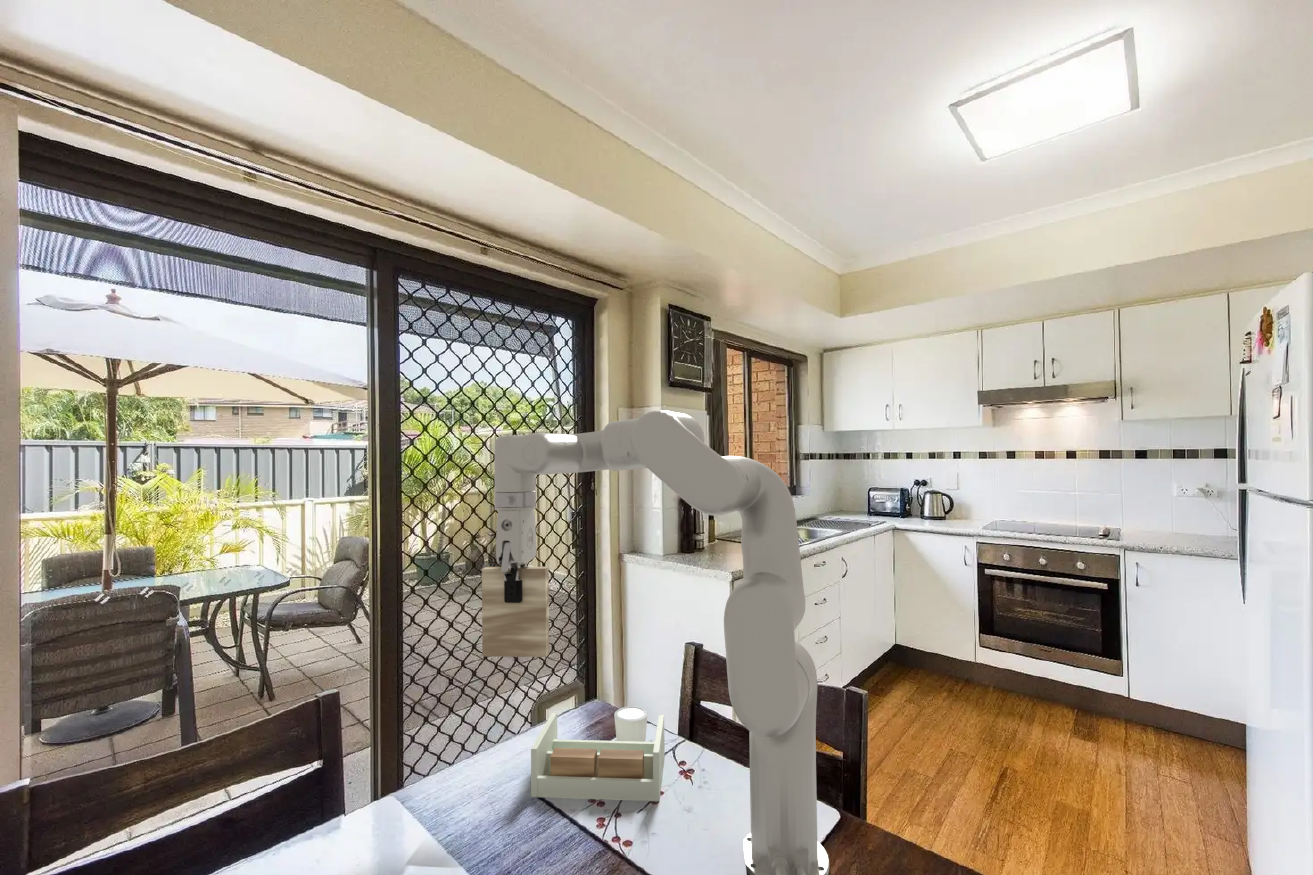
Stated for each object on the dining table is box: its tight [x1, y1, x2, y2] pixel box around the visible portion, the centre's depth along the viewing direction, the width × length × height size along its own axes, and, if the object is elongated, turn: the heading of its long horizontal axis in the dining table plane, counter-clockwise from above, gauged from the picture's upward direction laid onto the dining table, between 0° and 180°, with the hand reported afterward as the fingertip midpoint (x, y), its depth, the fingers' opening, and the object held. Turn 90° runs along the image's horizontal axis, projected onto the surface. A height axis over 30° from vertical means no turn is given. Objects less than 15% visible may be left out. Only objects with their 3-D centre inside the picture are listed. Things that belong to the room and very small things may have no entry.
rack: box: [530, 711, 666, 802], centre depth 103 cm, size 14×22×10 cm, turn 86°
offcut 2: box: [598, 749, 644, 779], centre depth 98 cm, size 3×8×6 cm, turn 86°
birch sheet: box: [481, 566, 550, 658], centre depth 105 cm, size 2×12×16 cm, turn 86°
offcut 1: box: [551, 748, 597, 777], centre depth 99 cm, size 3×8×6 cm, turn 86°
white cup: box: [614, 706, 649, 742], centre depth 115 cm, size 7×7×7 cm
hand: (515, 599), depth 105 cm, fingers closed on birch sheet, 2 cm apart
